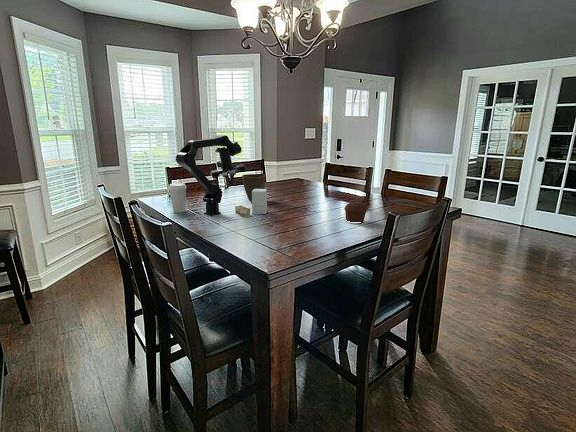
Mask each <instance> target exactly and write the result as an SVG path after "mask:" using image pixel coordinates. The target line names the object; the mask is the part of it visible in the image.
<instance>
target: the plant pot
mask: <svg viewBox="0 0 576 432" xmlns="http://www.w3.org/2000/svg"><path fill="white" fill-rule="evenodd" d="M241 178H242V184H243V187H244V192H245V194H246V197H247V199H248V201H249V202H252V191H253V190H254V189H265V185H266V178H267V175H266V174H261V173H246V174H242V176H241Z"/></svg>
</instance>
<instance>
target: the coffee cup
mask: <svg viewBox="0 0 576 432" xmlns="http://www.w3.org/2000/svg"><path fill="white" fill-rule="evenodd" d="M167 189H168V190H169V195H170V200H171V205H172V211H173V213H176V214H177V213H179V214H181V213H182V214H183V213H184V212H186V211H187V210H186V209H187V202H186V201H187V199H186V197H187V185H186V183H184V182H174V183H170V184H169V186H168V188H167Z"/></svg>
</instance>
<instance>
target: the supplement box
mask: <svg viewBox="0 0 576 432" xmlns="http://www.w3.org/2000/svg"><path fill="white" fill-rule="evenodd" d="M251 211H252V215H266V214H267V211H268V189H266V188H264V189H254V190H253V191H252V201H251Z"/></svg>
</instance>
